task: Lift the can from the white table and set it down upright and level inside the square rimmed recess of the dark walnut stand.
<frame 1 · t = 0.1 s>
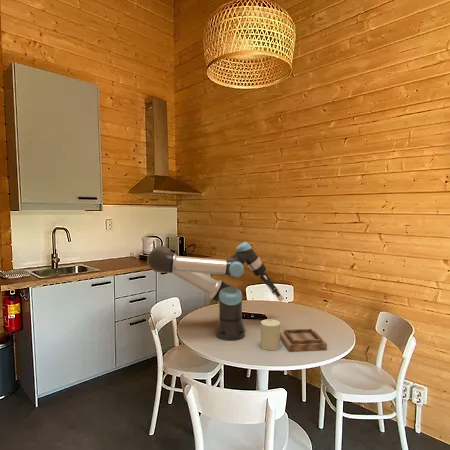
hand: (278, 296, 193), 15 cm above the table, tool tilted 35°, fingers open, 13 cm apart
stand: (302, 343, 167), on the table
can: (270, 346, 164), on the table
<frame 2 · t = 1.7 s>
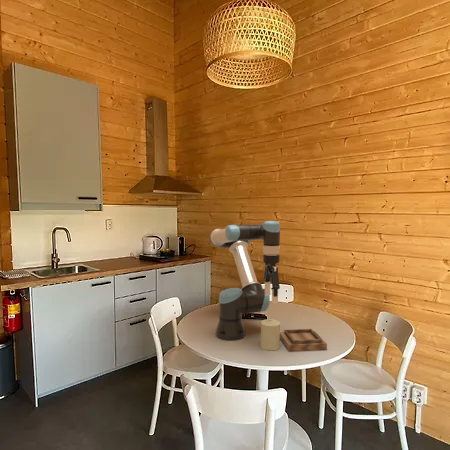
hand: (271, 299, 163), 23 cm above the table, tool pointing down, fingers open, 13 cm apart
nothing on the table moved.
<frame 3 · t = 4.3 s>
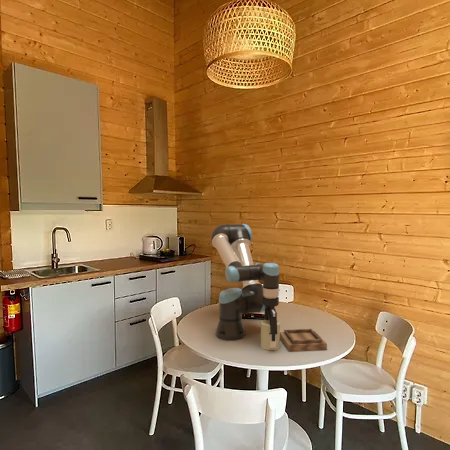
hand: (270, 343, 164), 1 cm above the table, tool pointing down, fingers closed on can, 9 cm apart
can: (270, 346, 164), on the table, touching gripper
when the fingers open (6 cm above the table, at t = 10.3 s): can drops 1 cm, resting on stand.
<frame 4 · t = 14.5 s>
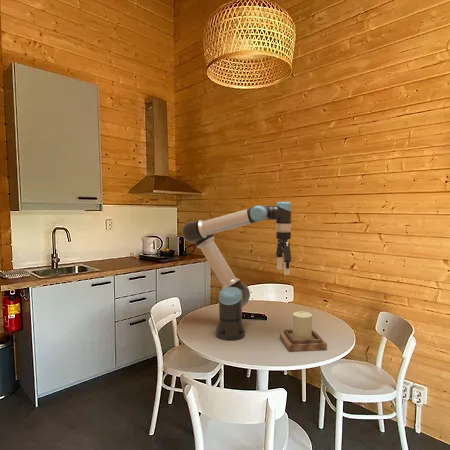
hand: (283, 272, 181), 32 cm above the table, tool pointing down, fingers open, 13 cm apart
can: (302, 338, 167), point 3 cm above the table, touching stand
at the end: can 0.1 cm off-centre on the stand, point 2.8 cm above the stand's base; can tilted 0°; the gripper is holding nothing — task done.
